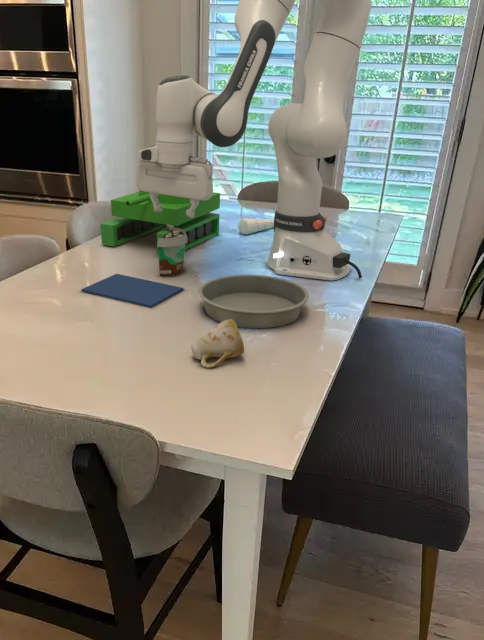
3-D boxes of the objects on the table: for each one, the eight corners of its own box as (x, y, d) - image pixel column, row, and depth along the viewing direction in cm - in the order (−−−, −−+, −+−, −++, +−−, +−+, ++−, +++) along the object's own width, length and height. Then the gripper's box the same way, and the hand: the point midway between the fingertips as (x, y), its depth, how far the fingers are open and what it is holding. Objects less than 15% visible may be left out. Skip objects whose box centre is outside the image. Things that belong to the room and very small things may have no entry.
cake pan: (310, 296, 145) (312, 278, 142) (302, 337, 124) (305, 316, 122) (210, 287, 149) (210, 269, 146) (186, 325, 128) (186, 305, 126)
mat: (183, 290, 147) (183, 287, 146) (151, 307, 136) (151, 305, 136) (116, 275, 155) (116, 273, 154) (81, 291, 144) (81, 289, 144)
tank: (89, 249, 174) (84, 190, 165) (154, 224, 200) (153, 171, 191) (161, 263, 164) (159, 201, 156) (219, 234, 191) (221, 180, 182)
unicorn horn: (298, 225, 203) (299, 210, 201) (247, 236, 190) (247, 220, 188) (288, 222, 206) (289, 208, 204) (237, 233, 193) (237, 217, 191)
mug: (182, 353, 117) (204, 306, 115) (226, 372, 120) (248, 326, 118) (189, 361, 110) (212, 310, 108) (236, 381, 113) (259, 332, 111)
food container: (181, 280, 153) (181, 240, 147) (158, 278, 154) (157, 238, 148) (192, 265, 163) (192, 228, 158) (170, 264, 164) (169, 226, 159)
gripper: (219, 157, 142) (216, 218, 149) (146, 148, 150) (147, 206, 157) (206, 160, 137) (203, 223, 144) (132, 151, 145) (133, 210, 152)
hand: (173, 214), depth 151 cm, fingers open, 8 cm apart
